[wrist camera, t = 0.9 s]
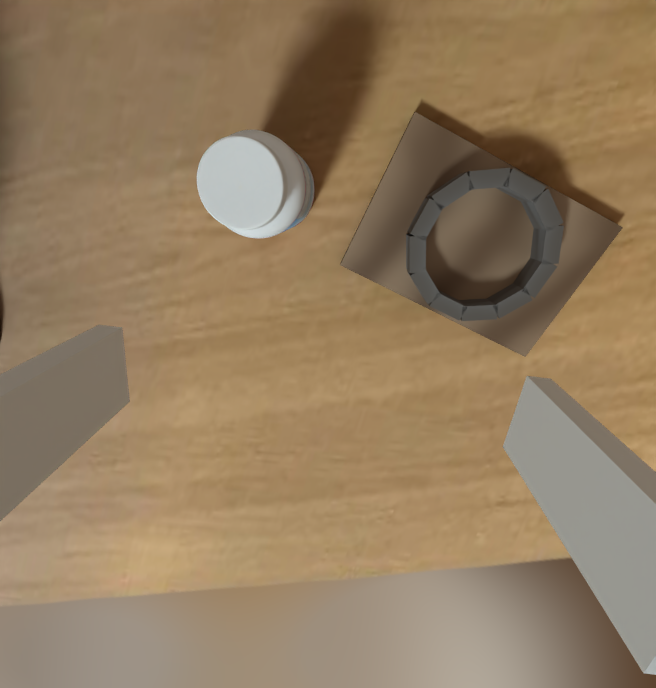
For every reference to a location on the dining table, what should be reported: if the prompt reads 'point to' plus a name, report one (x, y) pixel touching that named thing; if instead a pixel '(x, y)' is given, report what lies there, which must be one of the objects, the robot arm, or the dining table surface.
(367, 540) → the dining table surface
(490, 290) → the holder
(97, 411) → the robot arm
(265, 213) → the pill bottle
